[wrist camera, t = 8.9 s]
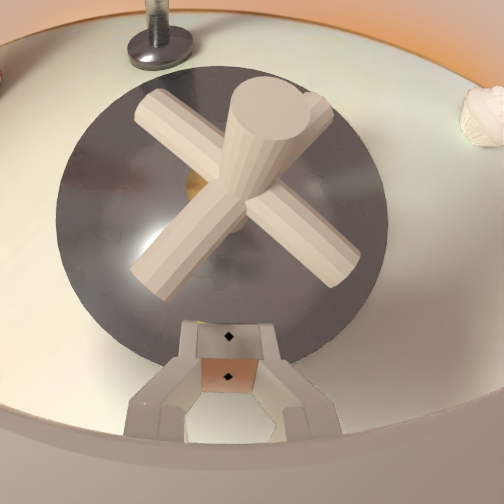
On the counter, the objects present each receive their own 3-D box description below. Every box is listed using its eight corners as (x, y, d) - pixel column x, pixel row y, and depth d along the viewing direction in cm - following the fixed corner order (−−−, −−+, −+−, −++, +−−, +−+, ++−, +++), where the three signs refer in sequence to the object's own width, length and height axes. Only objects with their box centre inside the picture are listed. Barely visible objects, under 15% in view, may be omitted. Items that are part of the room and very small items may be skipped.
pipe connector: (222, 104, 17) (247, -35, 7) (351, 212, 17) (476, 139, 7) (99, 225, 15) (-9, 141, 5) (240, 351, 15) (301, 435, 5)
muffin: (457, 100, 24) (494, 63, 17) (494, 144, 23) (534, 112, 16) (440, 119, 22) (485, 76, 15) (482, 170, 21) (532, 135, 15)
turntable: (39, 352, 13) (36, 353, 13) (105, 68, 18) (104, 66, 18) (391, 367, 16) (394, 367, 15) (361, 92, 21) (363, 90, 20)
